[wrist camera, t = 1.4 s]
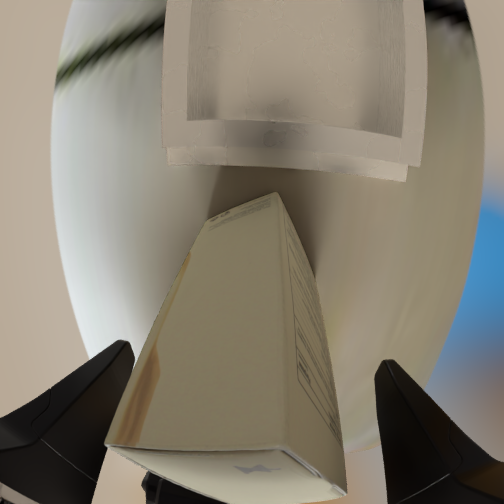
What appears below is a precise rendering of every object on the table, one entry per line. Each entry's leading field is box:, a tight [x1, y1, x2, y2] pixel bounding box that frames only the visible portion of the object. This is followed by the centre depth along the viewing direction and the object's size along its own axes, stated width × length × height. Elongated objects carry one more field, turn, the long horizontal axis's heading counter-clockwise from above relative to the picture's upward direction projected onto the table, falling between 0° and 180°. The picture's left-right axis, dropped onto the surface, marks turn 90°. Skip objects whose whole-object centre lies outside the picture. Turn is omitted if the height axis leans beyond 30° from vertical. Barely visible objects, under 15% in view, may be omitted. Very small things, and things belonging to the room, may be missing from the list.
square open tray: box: [161, 0, 427, 182], centre depth 8 cm, size 14×12×4 cm
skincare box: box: [104, 192, 347, 504], centre depth 10 cm, size 6×4×12 cm
